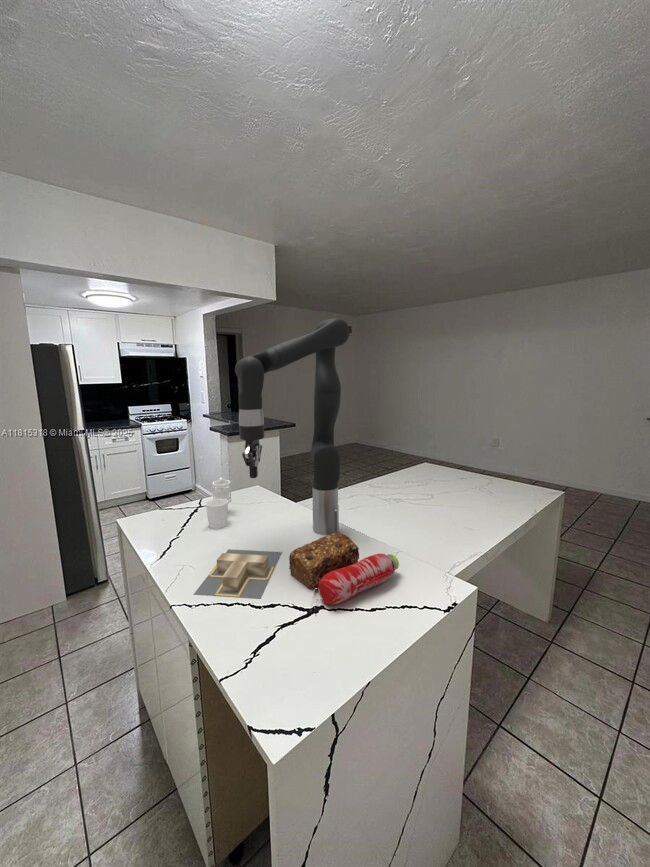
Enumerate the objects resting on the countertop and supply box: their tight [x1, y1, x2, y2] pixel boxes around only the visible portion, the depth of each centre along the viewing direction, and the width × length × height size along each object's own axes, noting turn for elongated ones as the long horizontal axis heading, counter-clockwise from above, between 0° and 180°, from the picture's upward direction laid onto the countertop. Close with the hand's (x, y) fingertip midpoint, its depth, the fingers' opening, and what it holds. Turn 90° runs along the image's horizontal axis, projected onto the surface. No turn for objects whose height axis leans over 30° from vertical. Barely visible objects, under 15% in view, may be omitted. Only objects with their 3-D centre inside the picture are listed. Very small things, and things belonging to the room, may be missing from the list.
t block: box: [216, 552, 269, 592], centre depth 99 cm, size 14×12×4 cm
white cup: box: [205, 499, 229, 530], centre depth 134 cm, size 8×8×10 cm
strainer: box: [211, 477, 232, 504], centre depth 145 cm, size 7×7×15 cm
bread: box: [288, 531, 360, 590], centre depth 102 cm, size 19×11×10 cm, turn 128°
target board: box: [192, 548, 283, 600], centre depth 103 cm, size 18×24×1 cm
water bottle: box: [317, 553, 400, 605], centre depth 97 cm, size 12×8×25 cm
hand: (253, 477), depth 113 cm, fingers closed
